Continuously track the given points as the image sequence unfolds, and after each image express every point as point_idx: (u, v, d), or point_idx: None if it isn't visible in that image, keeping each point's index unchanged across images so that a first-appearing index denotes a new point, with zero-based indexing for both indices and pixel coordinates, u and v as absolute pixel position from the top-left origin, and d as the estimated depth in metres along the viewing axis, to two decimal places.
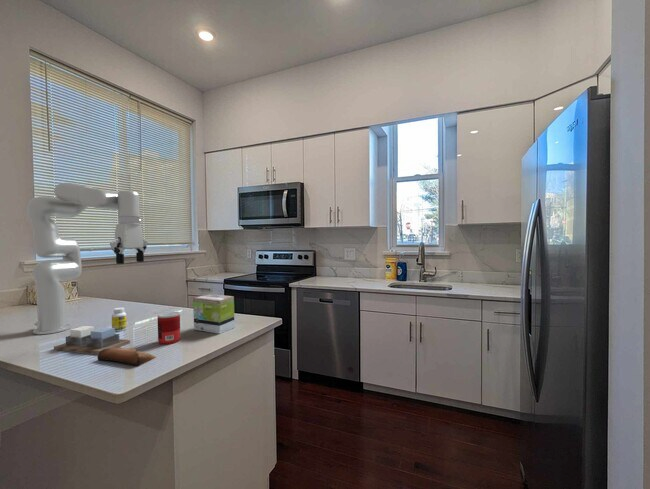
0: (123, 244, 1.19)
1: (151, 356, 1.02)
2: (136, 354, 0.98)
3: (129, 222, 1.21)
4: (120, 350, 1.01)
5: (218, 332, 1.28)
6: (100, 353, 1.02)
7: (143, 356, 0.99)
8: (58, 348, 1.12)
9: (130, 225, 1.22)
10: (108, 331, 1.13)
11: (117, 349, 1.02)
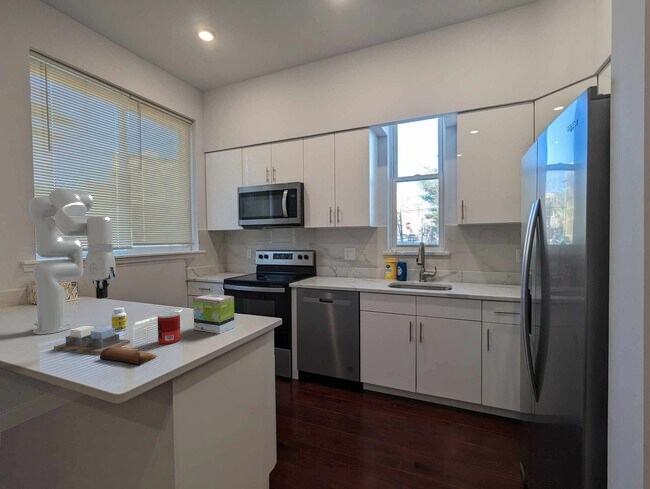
0: (115, 274, 1.14)
1: (153, 355, 1.03)
2: (138, 353, 0.98)
3: (112, 250, 1.15)
4: (122, 349, 1.02)
5: (218, 332, 1.28)
6: (102, 352, 1.02)
7: (145, 355, 1.00)
8: (58, 348, 1.12)
9: None
10: (108, 331, 1.13)
11: (120, 348, 1.03)
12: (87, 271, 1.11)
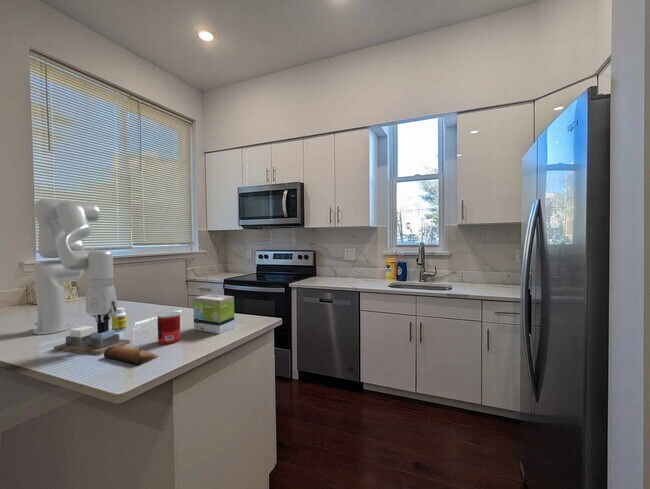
0: (116, 307, 1.14)
1: (153, 355, 1.03)
2: (138, 353, 0.98)
3: (113, 284, 1.15)
4: (124, 348, 1.02)
5: (218, 332, 1.28)
6: (106, 351, 1.04)
7: (145, 355, 1.00)
8: (58, 348, 1.12)
9: None
10: (108, 333, 1.13)
11: (122, 347, 1.04)
12: (88, 306, 1.12)
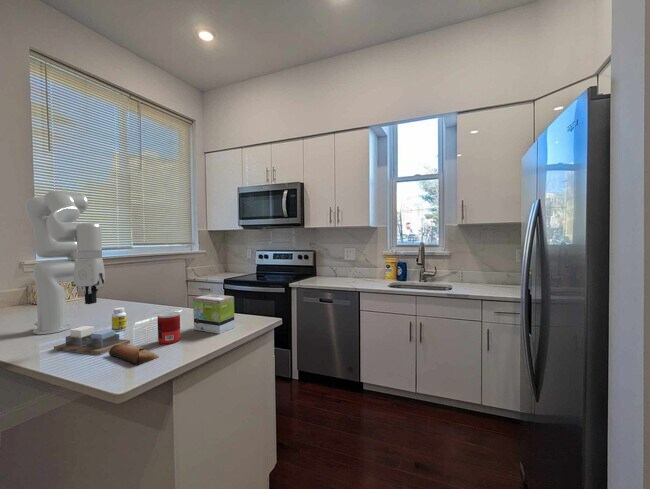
0: (104, 280, 1.15)
1: (154, 356, 1.02)
2: (137, 353, 0.98)
3: (101, 256, 1.17)
4: (127, 347, 1.03)
5: (218, 332, 1.28)
6: (111, 349, 1.05)
7: (144, 355, 0.99)
8: (58, 348, 1.12)
9: None
10: (108, 333, 1.13)
11: (126, 346, 1.05)
12: (76, 277, 1.13)
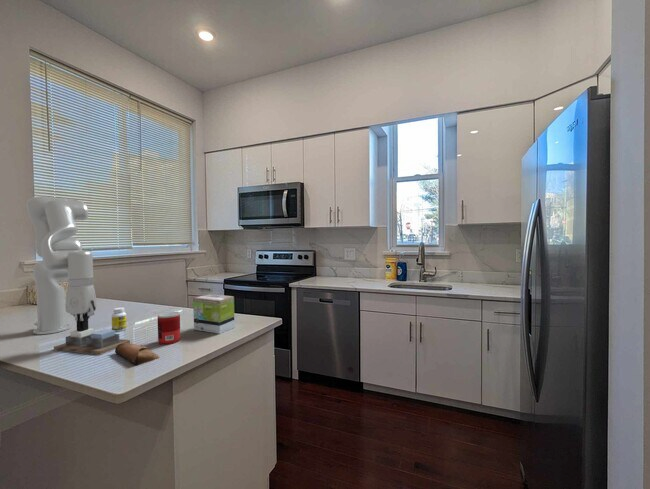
0: None
1: (154, 356, 1.02)
2: (136, 353, 0.98)
3: None
4: (130, 347, 1.04)
5: (218, 332, 1.28)
6: (117, 347, 1.07)
7: (144, 356, 0.99)
8: (58, 348, 1.12)
9: None
10: (108, 333, 1.13)
11: (130, 345, 1.06)
12: (68, 305, 1.14)
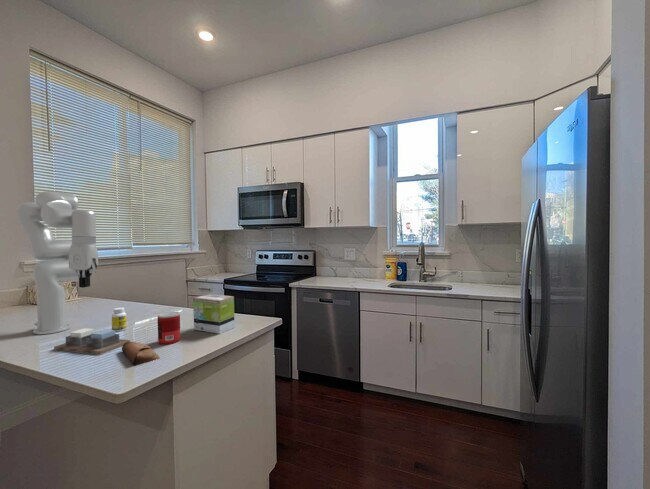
0: (97, 265, 1.21)
1: (154, 357, 1.02)
2: (136, 353, 0.99)
3: (95, 242, 1.22)
4: (133, 346, 1.05)
5: (218, 332, 1.28)
6: (123, 345, 1.09)
7: (143, 356, 0.99)
8: (58, 348, 1.12)
9: None
10: (108, 333, 1.13)
11: (134, 344, 1.07)
12: (71, 261, 1.18)
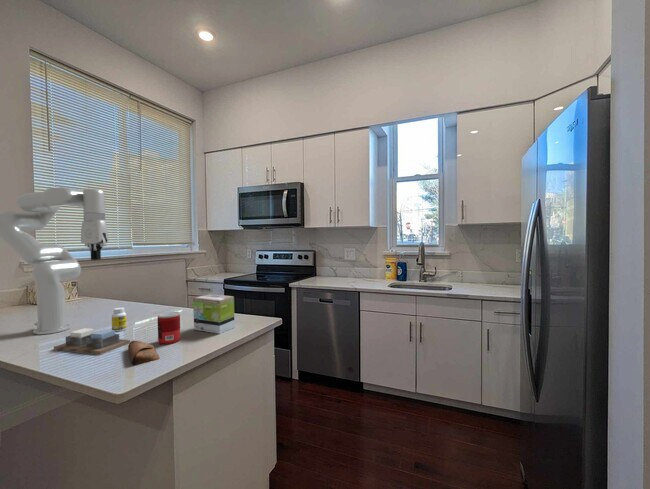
0: (107, 239, 1.32)
1: (153, 357, 1.01)
2: (135, 353, 0.99)
3: None
4: (136, 345, 1.06)
5: (218, 332, 1.28)
6: (129, 344, 1.10)
7: (142, 356, 0.99)
8: (58, 348, 1.12)
9: None
10: (108, 333, 1.13)
11: (138, 343, 1.08)
12: (83, 236, 1.30)
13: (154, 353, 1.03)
